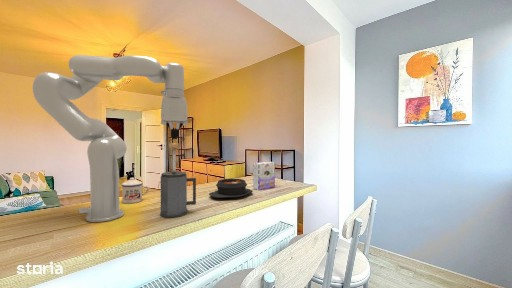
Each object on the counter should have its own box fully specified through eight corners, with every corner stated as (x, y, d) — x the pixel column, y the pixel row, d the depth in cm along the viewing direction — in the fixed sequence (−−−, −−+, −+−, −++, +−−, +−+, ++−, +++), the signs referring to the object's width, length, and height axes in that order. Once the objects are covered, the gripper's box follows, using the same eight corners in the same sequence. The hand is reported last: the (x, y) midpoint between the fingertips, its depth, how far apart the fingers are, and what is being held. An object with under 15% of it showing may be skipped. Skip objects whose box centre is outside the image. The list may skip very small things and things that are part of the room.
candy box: (269, 186, 151) (269, 161, 151) (275, 187, 147) (275, 162, 146) (252, 188, 143) (252, 162, 142) (258, 190, 138) (258, 163, 137)
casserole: (241, 189, 140) (241, 176, 140) (259, 196, 125) (260, 181, 125) (203, 195, 125) (203, 180, 125) (219, 203, 110) (219, 186, 110)
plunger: (163, 194, 91) (163, 143, 90) (165, 190, 98) (165, 142, 97) (183, 193, 93) (183, 143, 92) (184, 189, 100) (184, 143, 99)
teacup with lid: (122, 205, 106) (121, 180, 106) (121, 200, 114) (121, 177, 114) (150, 201, 113) (150, 178, 112) (147, 197, 120) (147, 175, 120)
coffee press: (158, 218, 89) (158, 175, 88) (162, 210, 99) (162, 171, 99) (195, 216, 93) (196, 174, 92) (195, 207, 103) (195, 170, 102)
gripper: (153, 92, 88) (153, 139, 89) (193, 94, 92) (193, 139, 93) (156, 95, 96) (156, 139, 96) (193, 97, 100) (193, 139, 100)
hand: (174, 139), depth 95 cm, fingers closed
